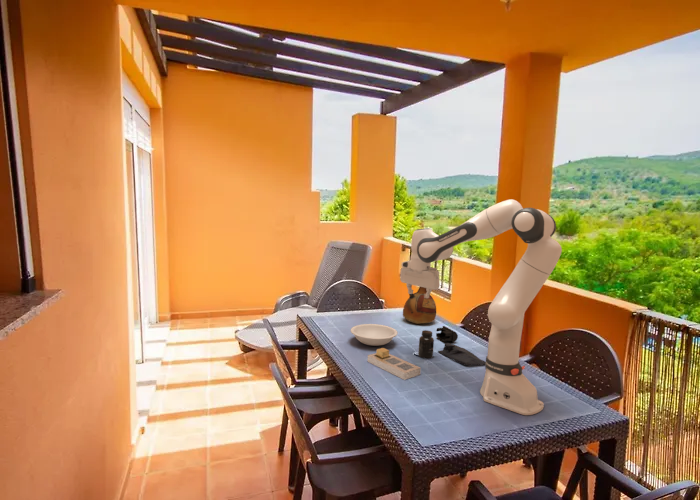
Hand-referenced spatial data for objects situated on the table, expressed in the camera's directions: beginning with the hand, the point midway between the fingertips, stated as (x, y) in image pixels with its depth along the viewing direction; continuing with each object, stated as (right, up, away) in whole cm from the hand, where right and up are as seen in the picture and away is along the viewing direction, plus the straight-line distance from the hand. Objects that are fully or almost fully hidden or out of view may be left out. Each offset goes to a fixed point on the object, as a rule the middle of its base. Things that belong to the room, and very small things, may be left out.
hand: (418, 295), depth 181 cm
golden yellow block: (-16, -30, +3) cm, 34 cm away
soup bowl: (-18, -28, +28) cm, 43 cm away
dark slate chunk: (+23, -32, +13) cm, 41 cm away
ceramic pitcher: (+12, -24, +70) cm, 75 cm away
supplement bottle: (+6, -30, +13) cm, 33 cm away
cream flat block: (-12, -31, -3) cm, 33 cm away
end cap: (+21, -28, +36) cm, 51 cm away
